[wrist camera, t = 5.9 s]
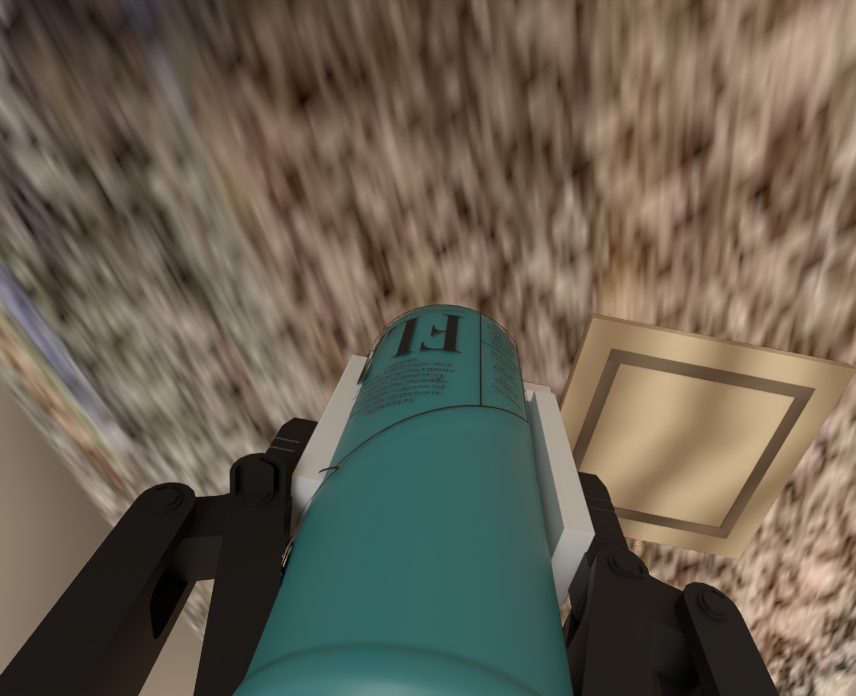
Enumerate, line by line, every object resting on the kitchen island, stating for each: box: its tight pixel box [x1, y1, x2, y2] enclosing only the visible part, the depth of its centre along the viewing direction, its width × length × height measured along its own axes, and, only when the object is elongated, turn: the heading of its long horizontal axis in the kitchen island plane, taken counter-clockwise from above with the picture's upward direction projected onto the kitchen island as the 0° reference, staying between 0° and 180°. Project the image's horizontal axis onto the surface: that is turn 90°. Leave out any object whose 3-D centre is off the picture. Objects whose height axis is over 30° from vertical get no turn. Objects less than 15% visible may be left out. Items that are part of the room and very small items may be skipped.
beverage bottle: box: [232, 305, 574, 696], centre depth 13 cm, size 6×7×20 cm
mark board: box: [558, 313, 856, 559], centre depth 33 cm, size 16×16×1 cm
